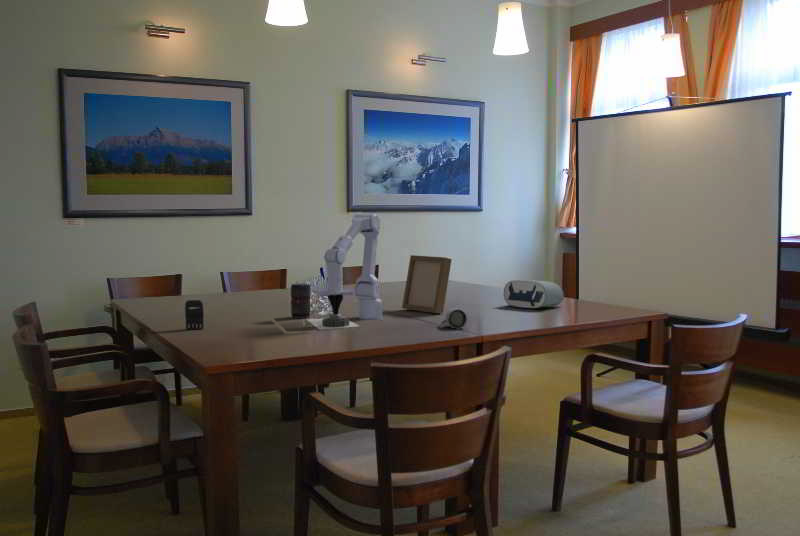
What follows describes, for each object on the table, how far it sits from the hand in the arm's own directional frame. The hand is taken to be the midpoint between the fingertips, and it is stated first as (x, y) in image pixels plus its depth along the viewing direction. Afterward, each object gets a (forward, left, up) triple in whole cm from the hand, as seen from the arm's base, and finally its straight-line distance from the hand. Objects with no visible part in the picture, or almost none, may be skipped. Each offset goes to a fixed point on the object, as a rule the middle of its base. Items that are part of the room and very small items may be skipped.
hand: (335, 314), depth 266 cm
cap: (0, 0, -4) cm, 4 cm away
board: (0, -6, -5) cm, 8 cm away
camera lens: (+9, -24, -5) cm, 26 cm away
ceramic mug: (-43, +15, -6) cm, 46 cm away
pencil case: (-102, -25, -6) cm, 105 cm away
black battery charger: (+52, -15, -5) cm, 54 cm away
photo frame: (-51, -29, -5) cm, 59 cm away
